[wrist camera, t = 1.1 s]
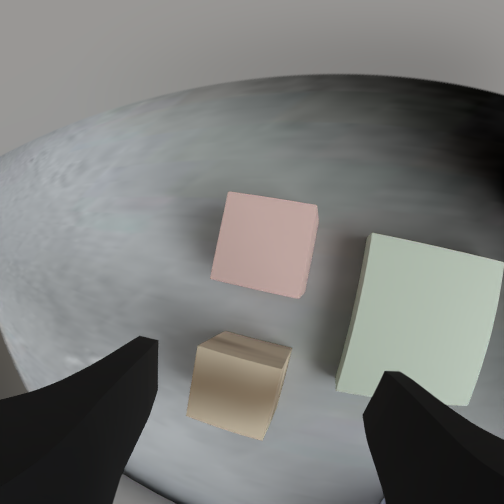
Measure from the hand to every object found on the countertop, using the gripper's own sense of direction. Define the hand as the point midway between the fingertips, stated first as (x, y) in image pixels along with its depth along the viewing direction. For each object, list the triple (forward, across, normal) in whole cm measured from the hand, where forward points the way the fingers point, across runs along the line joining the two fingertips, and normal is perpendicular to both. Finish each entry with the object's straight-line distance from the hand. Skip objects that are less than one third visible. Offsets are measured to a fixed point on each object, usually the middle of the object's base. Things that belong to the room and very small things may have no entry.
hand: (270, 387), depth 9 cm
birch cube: (+11, 0, +8) cm, 13 cm away
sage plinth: (+10, -11, +1) cm, 15 cm away
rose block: (+13, -1, -1) cm, 13 cm away
